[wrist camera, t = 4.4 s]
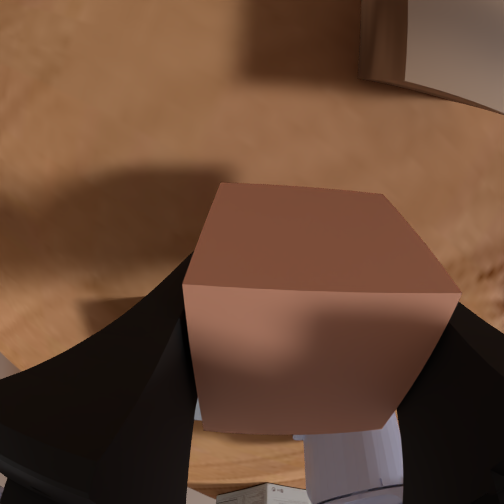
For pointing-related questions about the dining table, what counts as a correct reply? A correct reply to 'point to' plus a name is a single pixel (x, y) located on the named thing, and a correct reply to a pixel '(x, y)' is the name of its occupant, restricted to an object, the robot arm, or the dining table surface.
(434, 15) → the walnut block
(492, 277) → the dining table surface
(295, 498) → the supplement box
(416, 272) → the terracotta block
